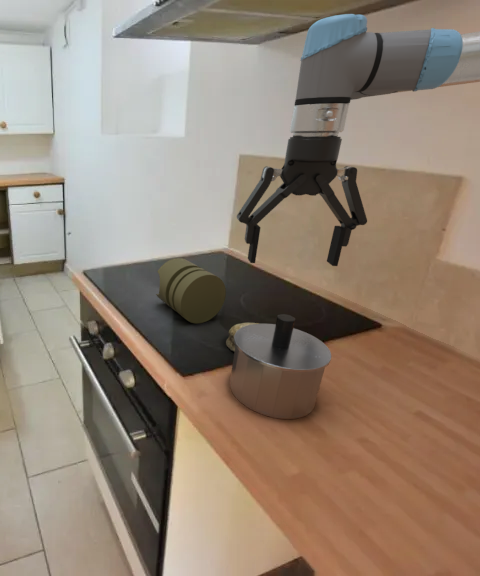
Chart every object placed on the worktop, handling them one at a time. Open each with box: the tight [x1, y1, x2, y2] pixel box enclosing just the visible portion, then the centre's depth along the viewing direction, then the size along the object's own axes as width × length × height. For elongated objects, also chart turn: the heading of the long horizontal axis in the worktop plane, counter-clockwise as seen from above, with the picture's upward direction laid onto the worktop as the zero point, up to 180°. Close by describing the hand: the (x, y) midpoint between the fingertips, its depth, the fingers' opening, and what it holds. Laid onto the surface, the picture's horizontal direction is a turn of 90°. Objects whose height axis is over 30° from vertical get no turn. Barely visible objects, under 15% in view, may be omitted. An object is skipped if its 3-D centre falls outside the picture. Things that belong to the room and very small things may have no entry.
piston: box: [155, 257, 227, 324], centre depth 86 cm, size 11×12×11 cm
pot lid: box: [234, 313, 332, 372], centre depth 57 cm, size 13×13×6 cm
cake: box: [225, 321, 259, 352], centre depth 73 cm, size 10×10×5 cm
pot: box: [229, 346, 326, 420], centre depth 59 cm, size 12×12×8 cm
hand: (290, 262), depth 68 cm, fingers open, 13 cm apart
